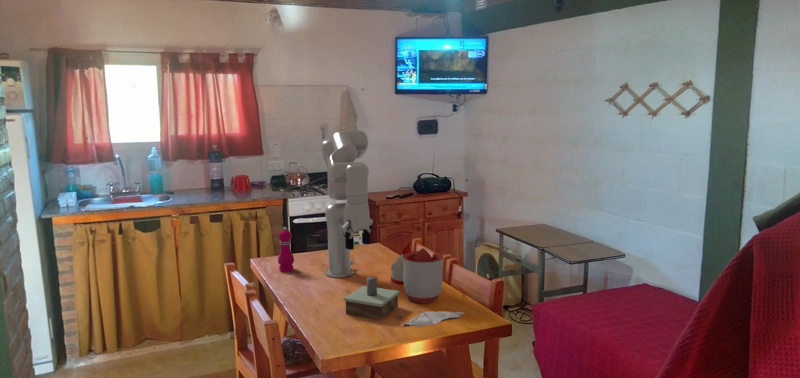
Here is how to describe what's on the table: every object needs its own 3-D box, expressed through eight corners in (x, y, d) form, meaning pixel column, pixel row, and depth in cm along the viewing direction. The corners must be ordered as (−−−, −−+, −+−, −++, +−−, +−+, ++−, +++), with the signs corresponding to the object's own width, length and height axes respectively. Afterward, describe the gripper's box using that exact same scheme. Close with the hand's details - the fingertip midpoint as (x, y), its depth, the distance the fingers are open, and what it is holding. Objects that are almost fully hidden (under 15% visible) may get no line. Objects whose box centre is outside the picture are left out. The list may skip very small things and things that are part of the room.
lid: (363, 288, 212) (363, 270, 211) (399, 293, 206) (399, 275, 205) (343, 300, 199) (343, 281, 198) (381, 306, 193) (381, 287, 192)
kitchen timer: (385, 282, 235) (385, 248, 233) (397, 273, 248) (397, 240, 245) (416, 286, 230) (416, 251, 228) (427, 277, 242) (427, 243, 240)
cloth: (459, 309, 206) (459, 303, 205) (475, 323, 193) (475, 316, 192) (391, 317, 198) (391, 311, 198) (403, 332, 185) (403, 325, 185)
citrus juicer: (448, 293, 222) (449, 244, 219) (437, 307, 206) (437, 255, 203) (411, 288, 227) (411, 241, 224) (397, 303, 211) (396, 251, 208)
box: (364, 301, 212) (364, 288, 212) (397, 306, 207) (397, 293, 206) (345, 313, 200) (345, 300, 199) (380, 319, 194) (380, 306, 193)
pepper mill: (290, 272, 249) (289, 228, 246) (275, 271, 251) (274, 228, 248) (296, 268, 256) (295, 225, 253) (282, 267, 258) (280, 224, 255)
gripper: (363, 195, 207) (363, 240, 209) (333, 201, 193) (334, 250, 195) (379, 196, 203) (380, 242, 205) (350, 203, 188) (351, 252, 191)
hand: (357, 246), depth 200 cm, fingers open, 9 cm apart
